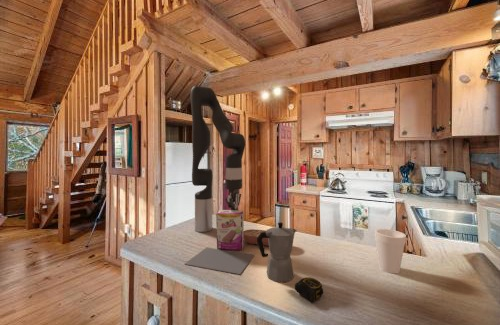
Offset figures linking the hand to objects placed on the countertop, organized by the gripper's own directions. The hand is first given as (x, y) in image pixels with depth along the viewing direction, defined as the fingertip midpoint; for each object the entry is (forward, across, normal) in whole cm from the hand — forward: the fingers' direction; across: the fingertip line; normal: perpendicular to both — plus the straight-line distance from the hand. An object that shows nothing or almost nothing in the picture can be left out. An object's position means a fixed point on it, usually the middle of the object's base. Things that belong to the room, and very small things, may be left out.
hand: (233, 216), depth 102 cm
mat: (+13, +14, +1) cm, 20 cm away
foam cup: (+14, +1, +61) cm, 62 cm away
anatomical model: (+14, -6, +14) cm, 20 cm away
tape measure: (+14, +27, +35) cm, 46 cm away
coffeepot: (+14, +19, +24) cm, 33 cm away
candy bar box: (+13, +3, 0) cm, 13 cm away
